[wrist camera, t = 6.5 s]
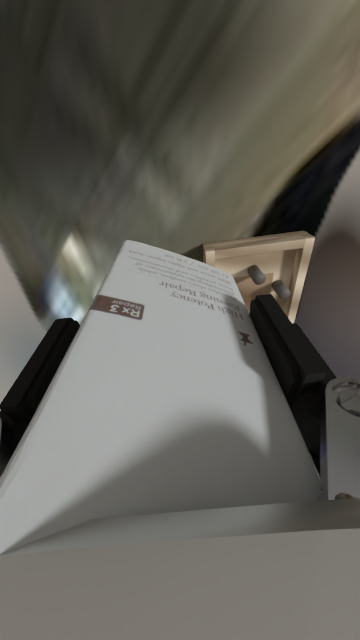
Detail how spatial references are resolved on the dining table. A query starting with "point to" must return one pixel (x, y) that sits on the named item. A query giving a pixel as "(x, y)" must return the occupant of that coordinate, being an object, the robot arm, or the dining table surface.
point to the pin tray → (265, 266)
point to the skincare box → (156, 408)
